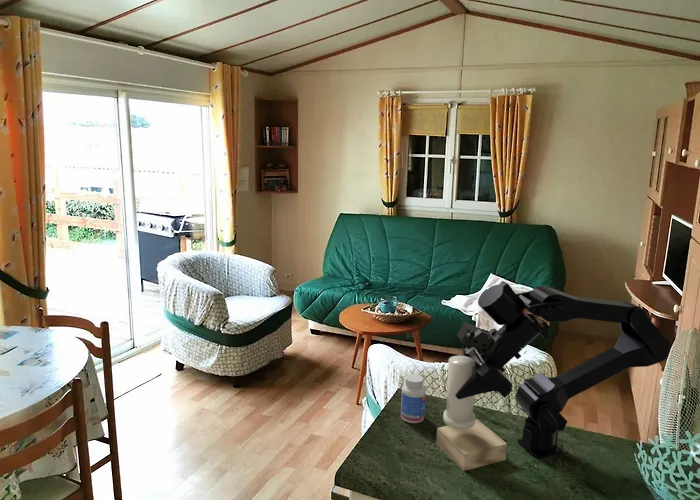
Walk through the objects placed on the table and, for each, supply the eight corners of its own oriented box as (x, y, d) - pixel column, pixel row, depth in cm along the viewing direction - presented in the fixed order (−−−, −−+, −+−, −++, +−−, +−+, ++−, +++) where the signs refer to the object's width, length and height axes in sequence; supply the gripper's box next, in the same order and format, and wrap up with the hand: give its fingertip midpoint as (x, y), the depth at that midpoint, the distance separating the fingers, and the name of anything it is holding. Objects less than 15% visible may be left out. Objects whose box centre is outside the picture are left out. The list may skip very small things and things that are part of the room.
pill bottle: (425, 424, 121) (427, 384, 119) (401, 423, 121) (403, 383, 119) (423, 411, 126) (425, 373, 124) (399, 411, 126) (401, 372, 124)
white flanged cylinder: (463, 410, 114) (466, 352, 111) (481, 425, 108) (485, 364, 105) (437, 416, 112) (439, 357, 109) (454, 431, 106) (456, 370, 103)
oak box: (475, 435, 117) (477, 419, 116) (505, 461, 108) (507, 443, 107) (436, 445, 113) (437, 427, 113) (463, 472, 104) (464, 454, 104)
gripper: (472, 296, 114) (418, 346, 116) (499, 328, 96) (435, 386, 98) (506, 331, 116) (453, 379, 118) (539, 369, 98) (476, 425, 100)
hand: (453, 390), depth 108 cm, fingers closed on white flanged cylinder, 5 cm apart
